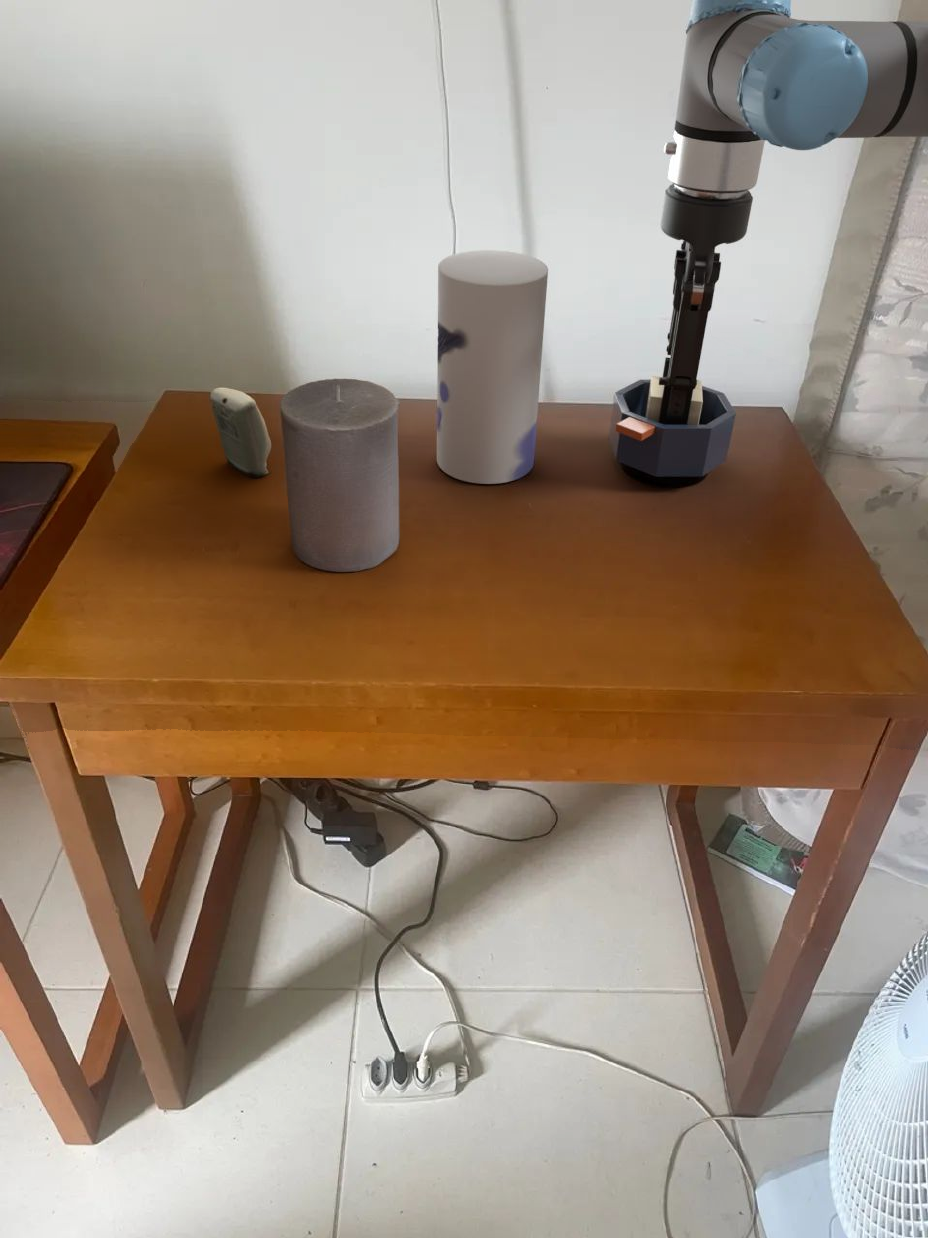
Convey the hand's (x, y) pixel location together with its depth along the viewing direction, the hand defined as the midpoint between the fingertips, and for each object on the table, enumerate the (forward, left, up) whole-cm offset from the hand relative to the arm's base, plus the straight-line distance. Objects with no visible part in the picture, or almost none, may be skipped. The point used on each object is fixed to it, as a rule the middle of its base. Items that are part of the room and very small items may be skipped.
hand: (669, 431), depth 99 cm
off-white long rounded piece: (+26, +34, -4) cm, 43 cm away
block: (0, 0, 0) cm, 0 cm away
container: (+12, +14, -4) cm, 19 cm away
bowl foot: (0, 0, -4) cm, 4 cm away
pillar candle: (+8, +34, -4) cm, 35 cm away
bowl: (0, +1, -2) cm, 2 cm away
